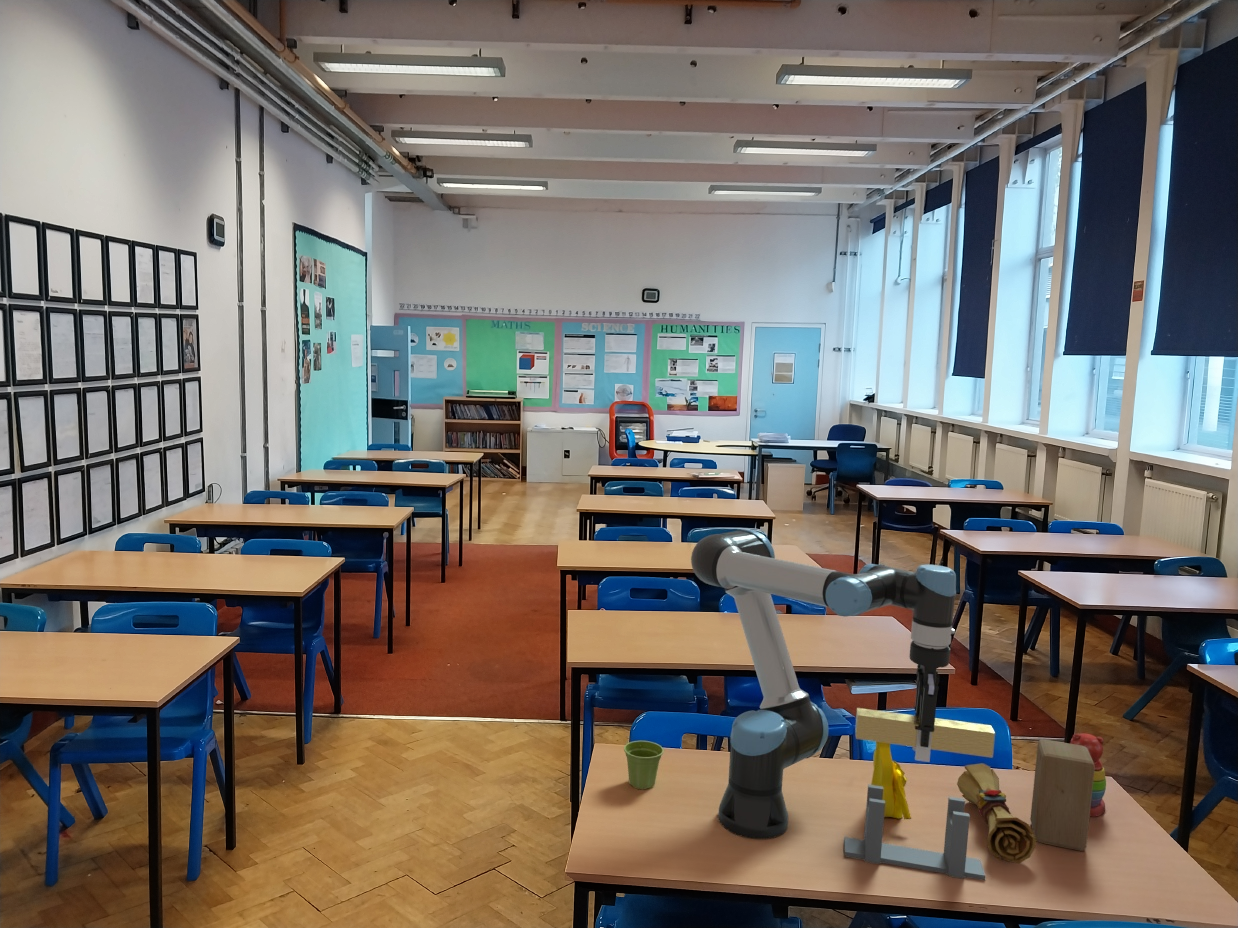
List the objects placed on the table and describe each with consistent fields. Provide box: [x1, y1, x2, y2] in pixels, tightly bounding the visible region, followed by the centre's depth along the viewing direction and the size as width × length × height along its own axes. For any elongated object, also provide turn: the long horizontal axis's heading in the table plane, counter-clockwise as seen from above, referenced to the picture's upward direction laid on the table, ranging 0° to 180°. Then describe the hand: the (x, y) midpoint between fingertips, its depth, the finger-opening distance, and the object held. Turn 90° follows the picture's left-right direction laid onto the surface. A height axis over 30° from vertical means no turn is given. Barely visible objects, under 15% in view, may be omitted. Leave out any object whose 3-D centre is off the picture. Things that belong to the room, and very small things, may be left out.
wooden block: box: [1029, 738, 1095, 852], centre depth 185 cm, size 10×10×20 cm
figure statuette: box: [870, 741, 912, 820], centre depth 193 cm, size 18×8×22 cm, turn 2°
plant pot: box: [623, 740, 665, 790], centre depth 202 cm, size 9×9×9 cm
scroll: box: [956, 762, 1037, 864], centre depth 187 cm, size 27×10×10 cm, turn 172°
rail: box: [854, 707, 996, 759], centre depth 172 cm, size 26×4×5 cm, turn 76°
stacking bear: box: [1069, 732, 1107, 818], centre depth 200 cm, size 11×10×18 cm
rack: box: [843, 784, 986, 881], centre depth 174 cm, size 27×7×13 cm, turn 76°
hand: (920, 754), depth 172 cm, fingers closed on rail, 4 cm apart
